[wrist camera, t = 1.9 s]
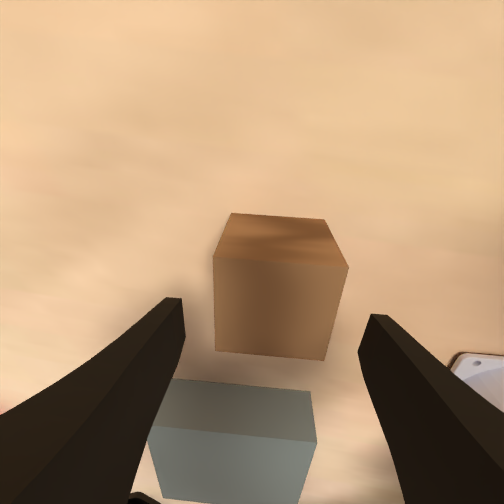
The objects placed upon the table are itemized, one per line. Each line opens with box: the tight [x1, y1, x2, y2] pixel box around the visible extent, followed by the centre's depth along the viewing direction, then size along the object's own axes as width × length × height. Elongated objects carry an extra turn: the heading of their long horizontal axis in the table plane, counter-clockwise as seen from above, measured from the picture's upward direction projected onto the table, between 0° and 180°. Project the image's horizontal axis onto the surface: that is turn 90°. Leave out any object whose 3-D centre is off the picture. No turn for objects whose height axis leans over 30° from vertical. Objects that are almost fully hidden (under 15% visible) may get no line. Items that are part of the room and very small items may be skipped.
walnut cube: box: [213, 213, 349, 361], centre depth 13 cm, size 5×5×5 cm
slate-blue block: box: [147, 379, 317, 504], centre depth 22 cm, size 12×12×4 cm
